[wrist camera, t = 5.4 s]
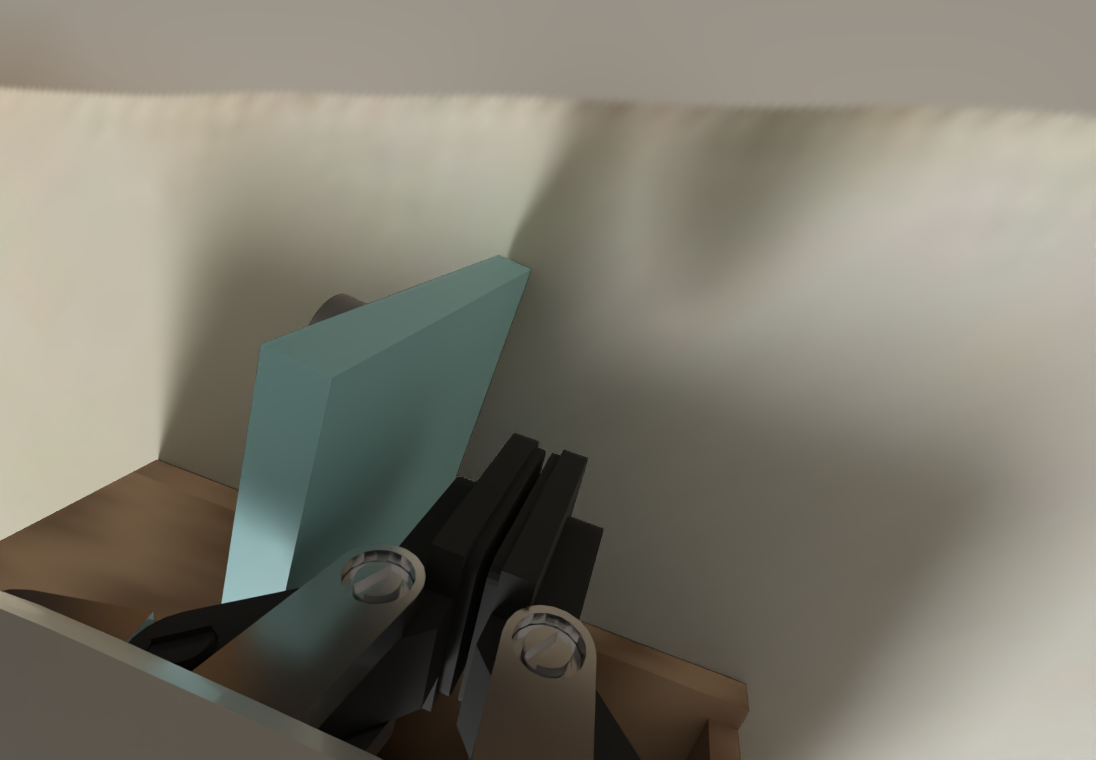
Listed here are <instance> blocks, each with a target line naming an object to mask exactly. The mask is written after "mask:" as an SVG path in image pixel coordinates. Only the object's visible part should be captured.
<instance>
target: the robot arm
mask: <svg viewBox="0 0 1096 760" xmlns="http://www.w3.org/2000/svg"><path fill="white" fill-rule="evenodd" d="M538 445H539V441H537V440H534V439H531V438H528V437H525V436H522V435H519V434H516V433H514V434H513V435H512V436H511V438H510V439H509V440H508V442H507V443H506V444H505V446H504V447H503V448H502V450H501V451H500V452H499V454H498V455H497V456H496V458H495V459H494V460H493V461H492V463H491V464H490V465H489V467H488V468H487V469H486V471H485V472H484V473H483V475H482V476H481V477H480V479H479V480H478V481H477V483H475V482H472V481H469V480H467V479H464V478H461V477H458V478H456V479H455V480H454V481H453V482H452V484H451V485H450V486H449V487H448V488H447V489H446V491H445V492H444V493H443V494H442V495H441V497H440V498H439V499H438V500H437V501H436V503H435V504H434V505H433V506H432V507H431V508H430V510H429V511H428V512H427V513H426V514H425V516H424V517H423V518H422V519H421V520H420V522H419V523H418V524H417V525H416V526H415V528H414V529H413V530H412V531H411V532H410V533H409V535H408V536H407V537H406V538H405V539H404V541H403V542H402V543H401V544H400V545H399V546H396V545H390V544H383V543H380V544H368V545H364V546H361V547H357V548H354V549H352V550H351V551H349V552H347V553H346V554H344V555H342V556H341V557H340V558H338V559H337V560H336V561H334V562H333V563H332V564H331V565H329V566H328V567H327V568H325V569H324V570H323V571H321V572H320V573H319V574H318V575H316V576H315V577H314V578H312V579H311V580H310V581H308V582H307V583H306V584H305V585H303V586H302V587H301V588H296V589H291V590H286V591H281V592H276V593H272V594H267V595H262V596H257V597H252V598H247V599H242V600H237V601H232V602H227V603H223V604H218V605H213V606H208V607H203V608H198V609H193V610H188V611H184V612H180V613H177V614H174V615H171V616H167V617H165V618H163V619H161V620H159V621H157V620H154V618H153V612H152V611H146V610H141V609H135V608H130V607H124V606H118V605H113V604H107V603H102V602H96V601H91V600H85V599H80V598H74V597H68V596H63V595H57V594H52V593H46V592H41V591H35V590H25V589H9V590H3V591H0V760H383V759H381V758H379V757H377V756H376V755H377V754H378V753H379V751H380V750H381V749H382V747H383V746H384V745H385V743H386V742H387V741H388V739H389V738H390V737H391V735H392V734H393V732H394V731H395V729H396V727H397V725H398V723H399V720H400V716H403V715H406V714H409V713H411V712H414V711H417V710H420V709H421V708H423V709H425V710H427V711H430V712H431V710H432V708H433V706H434V704H435V702H436V700H437V698H438V696H439V694H440V693H443V694H445V695H447V696H451V694H452V692H453V690H454V689H455V687H456V684H457V682H458V680H459V678H460V676H461V674H462V672H463V670H464V668H465V671H464V675H463V679H462V684H461V688H460V692H459V696H458V700H459V701H461V702H462V704H461V708H460V712H459V716H458V720H457V724H456V725H457V727H458V730H459V733H460V735H461V738H462V740H463V743H464V746H465V748H466V751H467V753H468V756H469V758H468V760H641V759H640V758H639V756H638V755H637V753H636V752H635V750H634V748H633V747H632V745H631V744H630V742H629V740H628V739H627V737H626V736H625V734H624V733H623V731H622V729H621V728H620V726H619V725H618V723H617V721H616V720H615V718H614V717H613V715H612V714H611V712H610V710H609V709H608V707H607V706H606V704H605V702H604V701H603V699H602V698H601V696H600V695H599V693H598V691H597V690H596V657H597V656H596V649H595V643H594V641H593V639H592V637H591V635H590V633H589V631H588V630H587V629H586V627H585V626H584V625H583V624H582V623H581V622H580V621H579V619H580V615H581V611H582V607H583V604H584V600H585V596H586V593H587V589H588V585H589V582H590V578H591V574H592V571H593V567H594V563H595V560H596V556H597V552H598V549H599V545H600V541H601V537H602V534H603V528H600V527H597V526H595V525H592V524H589V523H586V522H583V521H581V520H578V519H575V518H572V517H571V514H572V511H573V508H574V504H575V501H576V498H577V494H578V491H579V488H580V484H581V481H582V478H583V474H584V471H585V468H586V464H587V461H588V458H587V457H584V456H581V455H578V454H575V453H572V452H569V451H566V450H563V452H562V454H561V456H560V455H557V454H554V453H552V454H551V456H550V458H549V459H548V461H547V463H546V465H545V467H544V469H543V470H542V472H541V469H542V465H543V462H544V458H545V453H546V451H545V450H542V449H540V448H538ZM540 473H541V474H540ZM465 666H466V667H465Z"/></svg>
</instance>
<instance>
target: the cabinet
mask: <svg viewBox="0 0 1096 760" xmlns="http://www.w3.org/2000/svg"><path fill="white" fill-rule="evenodd" d="M238 492H239V491H238V490H235V489H232V488H230V487H227V486H225V485H222V484H219V483H217V482H214V481H211V480H209V479H206V478H204V477H201V476H198V475H196V474H193V473H191V472H188V471H185V470H183V469H180V468H177V467H175V466H172V465H170V464H167V463H164V462H162V461H159V460H155V461H153V462H151V463H149V464H148V465H146V466H144V467H142V468H140V469H138V470H136V471H134V472H132V473H130V474H128V475H126V476H124V477H122V478H121V479H119V480H117V481H115V482H113V483H111V484H109V485H107V486H105V487H103V488H101V489H99V490H97V491H95V492H94V493H92V494H90V495H88V496H86V497H84V498H82V499H80V500H78V501H76V502H74V503H72V504H70V505H69V506H67V507H65V508H63V509H61V510H59V511H57V512H55V513H53V514H51V515H49V516H47V517H45V518H43V519H42V520H40V521H38V522H36V523H34V524H32V525H30V526H28V527H26V528H24V529H22V530H20V531H18V532H16V533H15V534H13V535H11V536H9V537H7V538H5V539H3V540H1V541H0V591H3V590H9V589H25V590H35V591H41V592H46V593H52V594H57V595H63V596H68V597H74V598H80V599H85V600H91V601H96V602H102V603H107V604H113V605H118V606H124V607H130V608H135V609H141V610H146V611H152V612H153V618H154V620H157V621H159V620H161V619H163V618H165V617H167V616H171V615H174V614H177V613H180V612H184V611H188V610H193V609H198V608H203V607H208V606H213V605H218V604H221V603H222V597H223V590H224V584H225V577H226V570H227V564H228V557H229V551H230V544H231V538H232V531H233V524H234V518H235V511H236V505H237V498H238ZM580 622H581V621H580ZM581 623H582V624H583V625H584V626H585V627H586V629H587V630H588V631H589V633H590V635H591V637H592V639H593V641H594V643H595V649H596V656H597V657H596V690H597V691H598V693H599V695H600V696H601V698H602V699H603V701H604V702H605V704H606V706H607V707H608V709H609V710H610V712H611V714H612V715H613V717H614V718H615V720H616V721H617V723H618V725H619V726H620V728H621V729H622V731H623V733H624V734H625V736H626V737H627V739H628V740H629V742H630V744H631V745H632V747H633V748H634V750H635V752H636V753H637V755H638V756H639V758H640V759H641V760H741V758H740V747H739V737H738V729H739V727H740V726H741V724H742V722H743V720H744V719H745V717H746V715H747V714H748V712H749V705H748V697H747V688H746V684H744V683H741V682H739V681H736V680H733V679H731V678H728V677H725V676H723V675H720V674H718V673H715V672H712V671H710V670H707V669H704V668H702V667H699V666H697V665H694V664H691V663H689V662H686V661H683V660H681V659H678V658H676V657H673V656H670V655H668V654H665V653H662V652H660V651H657V650H655V649H652V648H649V647H647V646H644V645H642V644H639V643H636V642H634V641H631V640H628V639H626V638H623V637H621V636H618V635H615V634H613V633H610V632H607V631H605V630H602V629H600V628H597V627H594V626H592V625H589V624H586V623H584V622H581ZM465 667H466V666H465ZM464 671H465V668H464V670H463V672H462V674H461V676H460V678H459V680H458V682H457V684H456V687H455V689H454V690H453V692H452V694H451V696H447V695H445V694H443V693H440V694H439V696H438V698H437V700H436V702H435V704H434V706H433V708H432V710H431V712H430V711H427V710H425V709H423V708H421V709H420V710H417V711H414V712H411V713H409V714H406V715H403V716H400V720H399V723H398V725H397V727H396V729H395V731H394V732H393V734H392V735H391V737H390V738H389V739H388V741H387V742H386V743H385V745H384V746H383V747H382V749H381V750H380V751H379V753H378V754H377V755H376V756H377V757H379V758H381V759H383V760H468V758H469V756H468V753H467V751H466V748H465V746H464V743H463V740H462V738H461V735H460V733H459V730H458V727H457V725H456V724H457V720H458V716H459V712H460V708H461V704H462V702H461V701H459V700H458V696H459V692H460V688H461V684H462V679H463V675H464Z"/></svg>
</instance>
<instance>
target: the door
mask: <svg viewBox="0 0 1096 760" xmlns="http://www.w3.org/2000/svg"><path fill="white" fill-rule="evenodd" d="M530 272H531V269H529V268H527V267H525V266H523V265H520V264H518V263H516V262H513V261H511V260H509V259H507V258H504V257H502V256H500V255H497V256H495V257H492V258H489V259H487V260H484V261H481V262H479V263H476V264H473V265H471V266H468V267H465V268H463V269H460V270H457V271H455V272H452V273H449V274H446V275H444V276H441V277H438V278H436V279H433V280H430V281H428V282H425V283H422V284H420V285H417V286H414V287H412V288H409V289H406V290H404V291H401V292H398V293H396V294H393V295H390V296H388V297H385V298H382V299H380V300H377V301H374V302H372V303H369V304H366V303H363V302H361V301H359V300H357V299H355V298H353V297H350V296H348V295H346V294H339V295H336V296H334V297H332V298H330V299H329V300H328V301H326V302H325V303H324V304H323V305H322V306H321V307H320V309H319V310H318V311H317V312H316V314H315V315H314V317H313V319H312V320H311V322H310V324H309V326H307V327H305V328H302V329H299V330H297V331H294V332H291V333H289V334H286V335H283V336H281V337H278V338H275V339H273V340H270V341H267V342H264V343H262V344H261V347H260V354H259V360H258V367H257V373H256V380H255V386H254V393H253V400H252V406H251V413H250V419H249V426H248V432H247V439H246V446H245V452H244V459H243V465H242V472H241V478H240V485H239V492H238V498H237V505H236V511H235V518H234V524H233V531H232V538H231V544H230V551H229V557H228V564H227V570H226V577H225V584H224V590H223V597H222V603H221V604H223V603H227V602H232V601H237V600H242V599H247V598H252V597H257V596H262V595H267V594H272V593H276V592H281V591H286V590H291V589H296V588H301V587H302V586H303V585H305V584H306V583H307V582H308V581H310V580H311V579H312V578H314V577H315V576H316V575H318V574H319V573H320V572H321V571H323V570H324V569H325V568H327V567H328V566H329V565H331V564H332V563H333V562H334V561H336V560H337V559H338V558H340V557H341V556H342V555H344V554H346V553H347V552H349V551H351V550H352V549H354V548H357V547H361V546H364V545H368V544H380V543H383V544H390V545H396V546H399V545H400V544H401V543H402V542H403V541H404V539H405V538H406V537H407V536H408V535H409V533H410V532H411V531H412V530H413V529H414V528H415V526H416V525H417V524H418V523H419V522H420V520H421V519H422V518H423V517H424V516H425V514H426V513H427V512H428V511H429V510H430V508H431V507H432V506H433V505H434V504H435V503H436V501H437V500H438V499H439V498H440V497H441V495H442V494H443V493H444V492H445V491H446V489H447V488H448V487H449V486H450V485H451V484H452V482H453V481H454V480H455V478H456V475H457V472H458V469H459V467H460V464H461V461H462V458H463V456H464V453H465V450H466V447H467V445H468V442H469V439H470V436H471V434H472V431H473V428H474V425H475V423H476V420H477V417H478V414H479V412H480V409H481V406H482V403H483V401H484V398H485V395H486V392H487V390H488V387H489V384H490V382H491V379H492V376H493V373H494V371H495V368H496V365H497V362H498V360H499V357H500V354H501V351H502V349H503V346H504V343H505V340H506V338H507V335H508V332H509V329H510V327H511V324H512V321H513V318H514V316H515V313H516V310H517V307H518V305H519V302H520V299H521V296H522V294H523V291H524V288H525V285H526V283H527V280H528V277H529V274H530Z"/></svg>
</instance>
